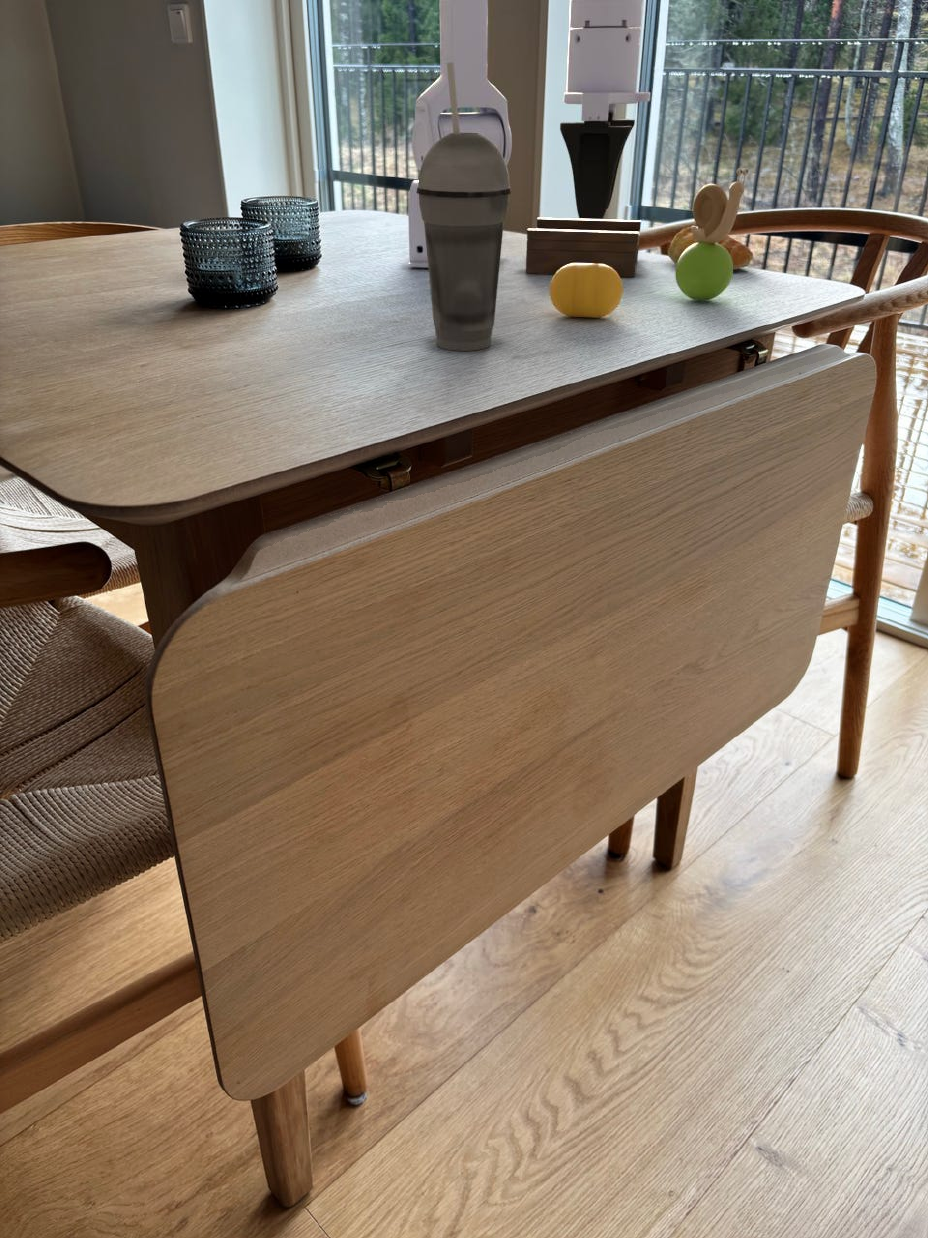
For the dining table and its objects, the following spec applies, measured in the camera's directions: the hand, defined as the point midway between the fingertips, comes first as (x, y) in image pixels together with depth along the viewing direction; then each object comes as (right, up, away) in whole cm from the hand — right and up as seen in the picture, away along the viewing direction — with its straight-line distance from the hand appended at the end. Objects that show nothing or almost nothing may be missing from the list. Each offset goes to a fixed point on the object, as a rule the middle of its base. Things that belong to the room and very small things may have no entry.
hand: (594, 213), depth 82 cm
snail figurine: (+12, -4, +10) cm, 17 cm away
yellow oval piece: (0, -8, +4) cm, 9 cm away
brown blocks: (+2, +5, +26) cm, 26 cm away
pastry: (+17, +5, +27) cm, 32 cm away
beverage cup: (-11, -13, -4) cm, 18 cm away
